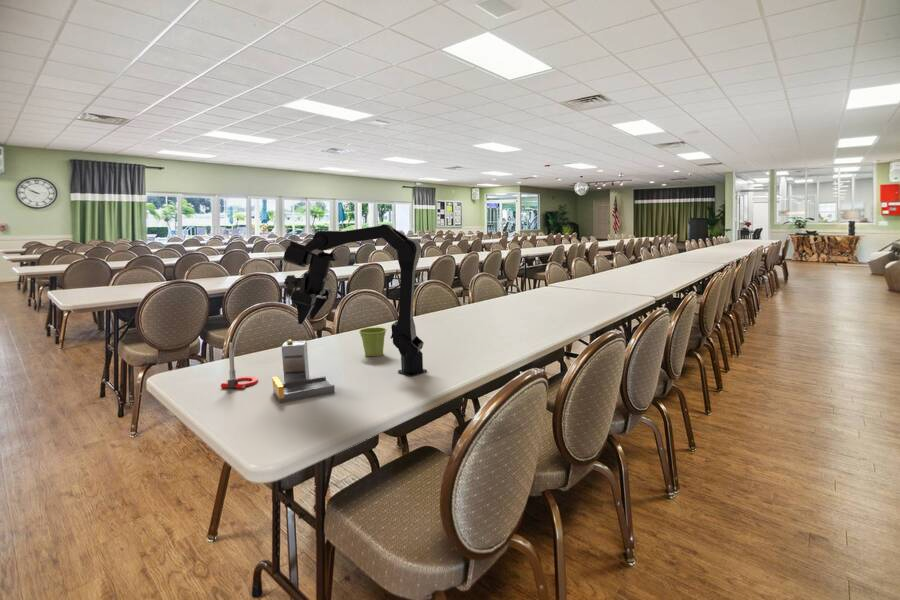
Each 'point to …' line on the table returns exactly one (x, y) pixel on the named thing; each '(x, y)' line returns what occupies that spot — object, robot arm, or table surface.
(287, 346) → the grey grooved upright block
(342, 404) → the table surface
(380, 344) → the plant pot
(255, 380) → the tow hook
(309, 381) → the grey channel rail
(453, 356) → the table surface
